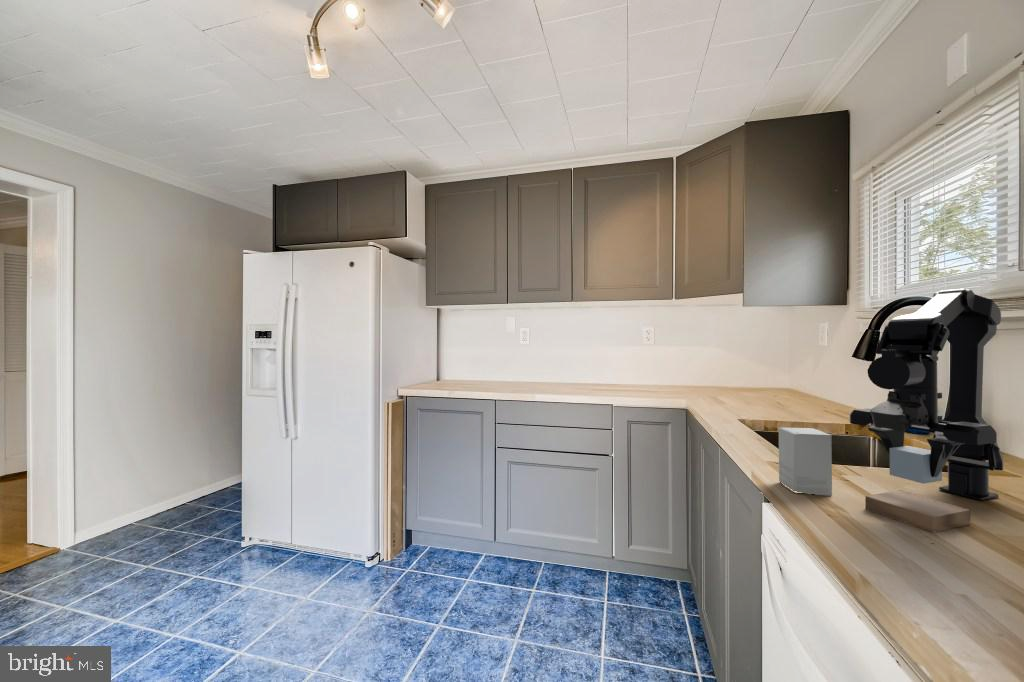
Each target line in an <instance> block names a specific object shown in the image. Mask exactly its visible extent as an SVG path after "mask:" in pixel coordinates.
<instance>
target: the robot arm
mask: <svg viewBox="0 0 1024 682" xmlns="http://www.w3.org/2000/svg"><path fill="white" fill-rule="evenodd" d="M1001 321H1002V311H1001V309H1000V307H999V306H998V305H997V304H996V302H995V301H994V300H993V299H991V298H987V297H985V296H984V297H983V296H981V295H978V294H976V293H974V291H973V290H972V289H966V288H960V289H959V288H957V289H946V290H945V289H944V290H939V291H937V292H934V293H933V295H932V298H931V299H930V300H928V301H927V302H926V303H925V304H923V306H921V307H920V308H918V310H916V311H915V312H913V313H908V314H904V315H899V316H896V317H894V318H891V319H890V320H889V321H888V323H887V324H886V325H885V327H884V329H883V332H882V334H881V337H880V339H879V342H878V345H877V348H876V351H875V352H876V353H875V354H877V355H881V357H880V356H879V357H877V358H875V359H874V360H873V361H871V362H870V364H869V366H868V368H867V377H868V378H869V380H870V381H871V382H872V384H874V385H875V386H877V387H878V388H881V389H883V390H888V393H887V398H886V401H883V402H880V403H879V404H877V405H876V406H874V407H872V408H860V409H859V408H858V409H853V410H852V411H851V413H850V414H849V423H850V424H851V425H857V426H862V427H868V426H869V425H870V427H868V428H867V430H868V431H869V432H871V433H874V434H875V435H876V436H878V437H879V439H880V440H881V441H882V444H883V445H884V447H885V449H886V451H887V453H888V456H889V457H890V448H893V447H901V446H905V445H904V444H905V432H906V431H907V430H910V429H911V430H914V431H922V432H926V433H933V437H932V438H927V439H926V441H927V443H928V445H929V447H930V450H931V458H930V472H931V476H932V477H937V476H938V475H939V473H940V472H941V470H942V471H943V469H944V467H945V466H946V464H947V485H944V486H938V490H939V491H943V492H947V493H951V494H955V495H958V496H963V497H966V498H970V499H972V500H973V499H974V500H978V501H983V500H989V499H993V498H994V499H995V498H998V497H999V494H998V493H995V492H991V491H990V471H992V472H994V471H1004V469H1005V468H1004V464H1005V463H1004V457H1003V455H1002V451H1001V448H1000V447H999V445H998V443H997V442H998V441H997V439H998V438H997V437H998V436H997V431H996V430H995V429H994V428H993V426H992V425H991V424H988V423H987V422H986V420H985V419H984V418H983V417H982V415H983V414H982V410H983V408H982V404H983V384H984V383H983V382H984V381H983V377H984V376H983V375H984V351H985V350H984V349H985V346H986V345H987V344H988V343H989V341H991V340H992V339H993V337H995V336H996V334H997V327H998V326H999V325H1000V324H1001ZM947 342H948V343H949V344H950V364H949V365H950V366H949V367H950V368H949V370H950V371H949V392H948V393H949V395H948V397H949V398H948V399H949V400H948V413H947V415H946V416H945V417H944V418H943V415H940V414H939V413H938V408H939V407H938V400H939V399H942V398H943V393H942V392H938V361H939V356H938V354H939V353H940V352H943V349H944V348H945V345H946V343H947Z"/></svg>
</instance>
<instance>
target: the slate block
mask: <svg viewBox="0 0 1024 682" xmlns="http://www.w3.org/2000/svg"><path fill="white" fill-rule="evenodd" d="M930 458H931V449H926V448H920V447H916V446H910V445H904V446H901V447H893V448H890V456H889V475H890V476H892V477H896V478H899V479H903V480H908V481H911V482H915V483H920V484H929V483H935V482H941V481H943V469H942V470H941V472H940V473H939V475H938V476H937V477H932V476H931V472H930Z"/></svg>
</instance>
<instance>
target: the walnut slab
mask: <svg viewBox="0 0 1024 682" xmlns="http://www.w3.org/2000/svg"><path fill="white" fill-rule="evenodd" d="M864 497H865V500H864V502H865V510H866V511H870V512H872V513H876V514H877V515H881V516H884V517H887V518H890V519H893V520H896V521H899V522H902V523H904V524H907V525H910V526H912V527H916V528H919V529H922V530H924V531H928V532H931V533H936V532H941V531H944V530H945V531H946V530H949V529H955V528H959V527H964V526H968V525H971V510H970V509H969V508H964V507H961V506H958V505H954V504H951V503H948V502H944V501H941V500H936V499H934V498H933V499H932V498H929V497H926V496H923V495H919V494H916V493H912V492H908V491H905V490H901V489H900V490H893V491H888V492H882V493H875V494H868V495H865V496H864Z"/></svg>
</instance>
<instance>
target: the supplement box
mask: <svg viewBox="0 0 1024 682" xmlns="http://www.w3.org/2000/svg"><path fill="white" fill-rule="evenodd" d="M832 445H833V444H832V434H829V433H826V432H824V431H821V430H819V429H816V428H814V427H813V428H809V427H806V428H805V427H778V482H779V481H780V482H782V483H783V484H784V485H786V486H787V487H789V488H790V489H792V490H793V491H797V492H802V493H808V494H807V495H811V494H815V495H814V496H829V497H831V496H832V495H833V472H832V471H833V461H832V459H833V458H832V457H833V455H832V451H833V450H832V449H833V448H832ZM784 485H783V486H784Z"/></svg>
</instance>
